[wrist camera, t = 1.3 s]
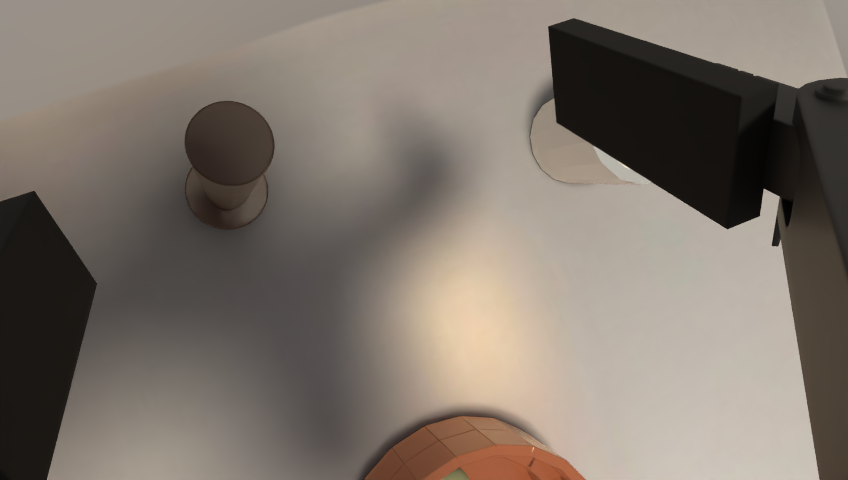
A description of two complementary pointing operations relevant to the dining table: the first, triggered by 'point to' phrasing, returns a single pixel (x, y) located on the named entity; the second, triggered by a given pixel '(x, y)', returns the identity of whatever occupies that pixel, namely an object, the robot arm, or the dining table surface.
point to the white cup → (574, 154)
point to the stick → (228, 164)
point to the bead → (456, 475)
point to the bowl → (472, 454)
